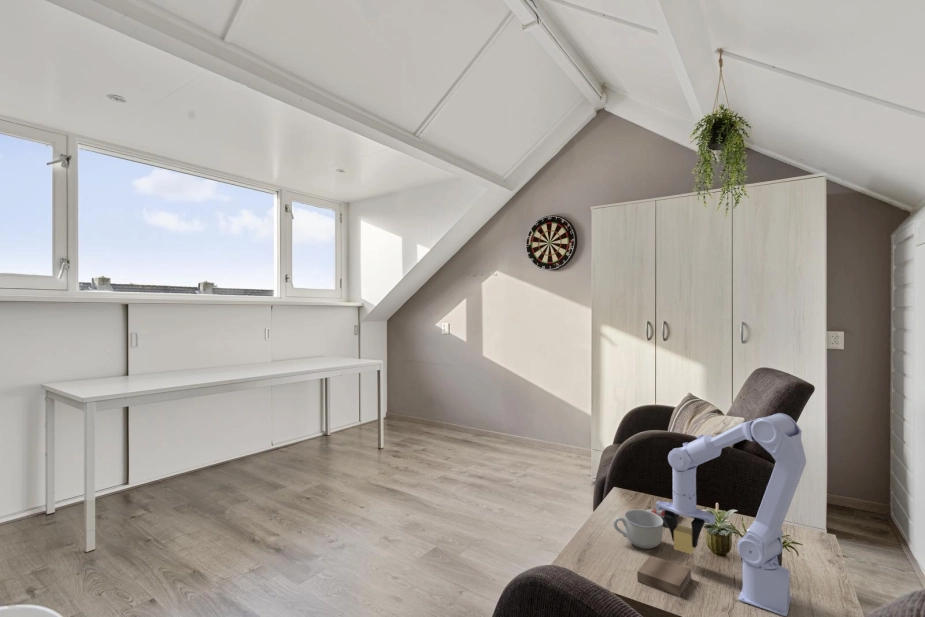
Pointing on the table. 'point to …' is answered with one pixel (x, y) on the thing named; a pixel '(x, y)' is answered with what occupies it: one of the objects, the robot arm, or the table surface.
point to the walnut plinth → (664, 575)
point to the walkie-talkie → (660, 513)
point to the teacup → (641, 528)
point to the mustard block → (683, 539)
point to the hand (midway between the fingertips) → (684, 543)
